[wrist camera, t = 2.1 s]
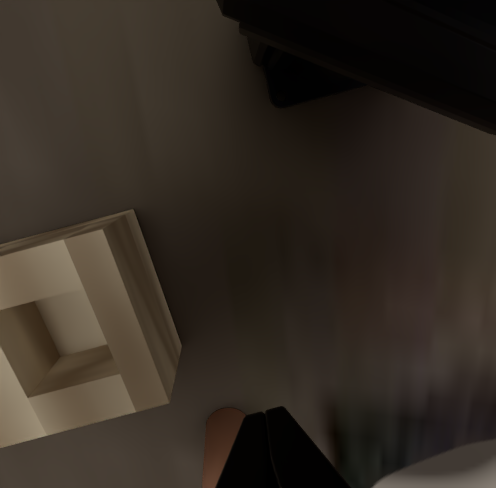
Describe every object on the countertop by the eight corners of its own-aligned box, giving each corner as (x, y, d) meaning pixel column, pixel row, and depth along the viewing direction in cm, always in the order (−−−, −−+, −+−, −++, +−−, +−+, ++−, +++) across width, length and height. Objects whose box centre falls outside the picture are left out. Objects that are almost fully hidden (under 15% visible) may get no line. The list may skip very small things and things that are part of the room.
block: (133, 209, 17) (102, 229, 13) (181, 346, 19) (169, 403, 15) (-61, 260, 17) (-158, 298, 13) (9, 391, 19) (-53, 461, 15)
